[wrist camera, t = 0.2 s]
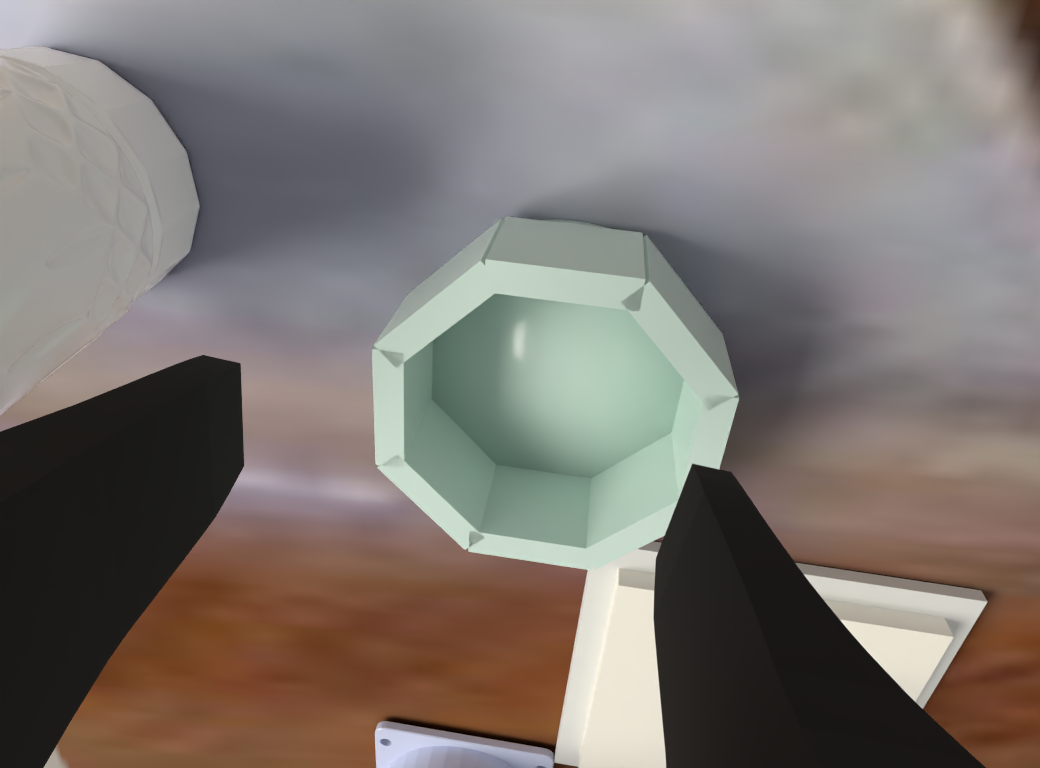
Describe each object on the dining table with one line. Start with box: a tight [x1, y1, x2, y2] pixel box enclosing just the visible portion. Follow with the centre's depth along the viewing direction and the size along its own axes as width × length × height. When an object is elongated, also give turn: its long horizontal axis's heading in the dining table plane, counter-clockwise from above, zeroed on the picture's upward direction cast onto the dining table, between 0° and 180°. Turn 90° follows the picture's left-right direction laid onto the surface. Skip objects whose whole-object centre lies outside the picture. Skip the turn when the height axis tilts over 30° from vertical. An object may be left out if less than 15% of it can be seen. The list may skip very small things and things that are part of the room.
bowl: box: [372, 216, 739, 570], centre depth 20 cm, size 9×9×4 cm
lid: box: [579, 568, 954, 768], centre depth 25 cm, size 11×11×5 cm
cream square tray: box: [554, 541, 987, 767], centre depth 27 cm, size 13×13×1 cm
